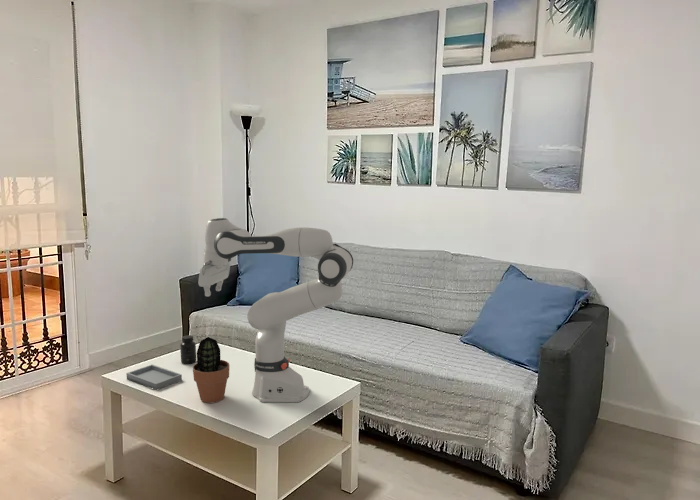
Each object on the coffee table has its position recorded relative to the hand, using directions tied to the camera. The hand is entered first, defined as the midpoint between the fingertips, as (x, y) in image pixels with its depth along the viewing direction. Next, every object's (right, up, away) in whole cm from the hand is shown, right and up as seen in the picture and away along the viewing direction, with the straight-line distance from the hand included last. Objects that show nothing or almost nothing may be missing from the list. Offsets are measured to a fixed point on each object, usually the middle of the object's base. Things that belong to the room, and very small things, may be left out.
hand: (213, 293), depth 212 cm
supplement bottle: (-20, -34, +34) cm, 52 cm away
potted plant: (+1, -40, -4) cm, 41 cm away
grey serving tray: (-28, -37, +13) cm, 49 cm away
